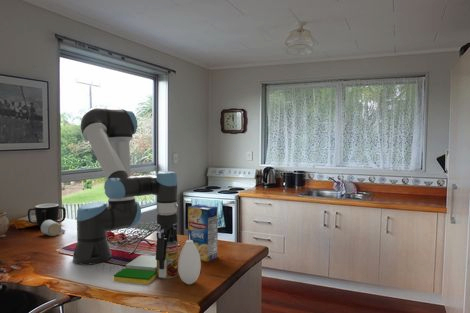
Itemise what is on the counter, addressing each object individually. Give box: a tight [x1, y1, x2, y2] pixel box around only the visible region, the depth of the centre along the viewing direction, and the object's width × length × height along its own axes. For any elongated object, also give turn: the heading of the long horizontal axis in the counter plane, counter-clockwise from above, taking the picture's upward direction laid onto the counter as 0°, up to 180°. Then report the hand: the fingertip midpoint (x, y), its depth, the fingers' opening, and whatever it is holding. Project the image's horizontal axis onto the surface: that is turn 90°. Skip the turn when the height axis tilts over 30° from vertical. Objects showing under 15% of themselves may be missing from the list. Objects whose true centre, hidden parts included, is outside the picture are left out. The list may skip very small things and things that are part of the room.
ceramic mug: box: [40, 220, 66, 237], centre depth 187 cm, size 11×8×8 cm
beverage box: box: [187, 203, 219, 262], centre depth 153 cm, size 7×11×22 cm, turn 56°
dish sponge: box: [113, 268, 158, 285], centre depth 130 cm, size 7×14×2 cm, turn 78°
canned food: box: [156, 241, 179, 279], centre depth 133 cm, size 8×8×12 cm
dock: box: [125, 254, 157, 272], centre depth 140 cm, size 12×12×3 cm
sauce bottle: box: [178, 233, 202, 285], centre depth 125 cm, size 8×8×18 cm
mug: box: [27, 203, 67, 228], centre depth 205 cm, size 16×16×12 cm
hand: (167, 272), depth 134 cm, fingers closed on canned food, 8 cm apart
